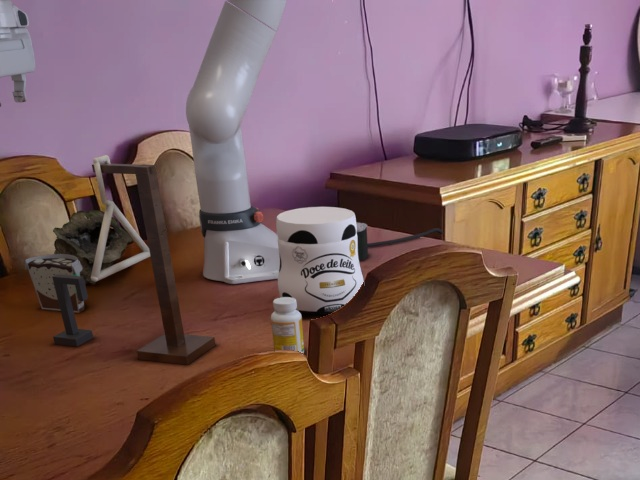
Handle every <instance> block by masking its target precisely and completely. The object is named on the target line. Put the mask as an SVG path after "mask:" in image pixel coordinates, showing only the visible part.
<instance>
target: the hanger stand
mask: <svg viewBox="0 0 640 480" xmlns="http://www.w3.org/2000/svg"><path fill="white" fill-rule="evenodd" d="M92 162H93V164H91V168H92V172H93V173H95V177H96V181H97V186H98V191H99V196H100V200H101V201H100V202H101V203H102V204H103V205H105V210H104V212H105V213H104V218H103V223H102V227H101V232H100V237H99V241H98V246H97V251H96V255H95V260H94V265H93V269H92V274H91V280H92V281H94V282H96V281H97V282H98V281H101V280H103V279H106V278H107V277H109V276H112V275H114V274H116V273H118V272H120V271H122V270H124V269H127V268H128V267H132V266H133V265H135V264H137V263H140V262H141V261H144V260H146V259H148V258H150V261H151V266H152V272H153V277H154V282H155V288H156V293H157V299H158V305H159V310H160V316H161V321H162V326H163V332H164V334H162V335H160V336H159V337H157V338H155V339H154V340H152V341H150V342H149V343H147V344H146V345H144V346H142V347H141V348H139V349H137V350H136V355H137V359H138V360H141V361H148V362H149V361H150V362H158V363H168V364H175V365H183V366H185V365H186V366H188V365H189V364H192V363H193V362H194V361H196V360H197V359H198V358H200V357H201V356H203V355H204V354H206V353H207V352H208V351H210V350H212V349H213V348H214V347H216V346H217V345H216V338H215V336H207V335H197V334H188V333H184V332H185V331H184V326H183V320H182V314H181V308H180V303H179V297H178V292H177V291H178V290H177V285H176V279H175V273H174V268H173V263H172V256H171V251H170V245H169V238H168V233H167V227H166V221H165V215H164V209H163V203H162V196H161V192H160V186H159V180H158V173H157V167H156V164H143V163H142V164H135V163H134V164H133V163H132V164H131V163H111V158H110V156H109V155H108V154H104V155H100V156H97V157H94V158H93V159H92ZM103 174H115V175H116V174H117V175H118V174H119V175H134V176H135V180H136V185H137V191H138V196H139V201H140V206H141V213H142V217H143V223H144V228H145V229H144V230H145V234H146V239H147V244H146V243H145V241H144V240H143V239H142V237H141V236H140V234H139V233H138V232H137V231H136V229H135V228H134V227H133V226H132V224H131V223H130V222H129V220H128V219H127V217H126V216H125V215H124V214H123V213H122V212H121V210H120V209H119V207H118V205H116V204H115V202H114V201H113V200H109V199H107V194H106V188H105V183H104V178H103ZM113 215H114V218H115V219H116V220H117V221H118V222H119V223H120V225H121V226H122V228H124V230H125V231H127V232H128V233H129V234H130V236H131V237H132V238H133V241H134V242H135V243H136V245H137V246H138V247H139V249H140V250H141V251H142V252H140V253H137V254H135V255H133V256H131V257H128V258H126V259H124V260H122V261H120V262H117V263H115V264H112V265H111V266H110V267H108V268H106V269H104V270H102V271H100V270H101V265H102V260H103V255H104V251H105V246H106V241H107V237H108V232H109V227H110V223H111V218H112V217H113ZM110 228H111V227H110ZM97 282H96V283H97Z"/></svg>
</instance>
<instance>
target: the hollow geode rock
mask: <svg viewBox="0 0 640 480" xmlns="http://www.w3.org/2000/svg"><path fill="white" fill-rule="evenodd" d="M104 213H105V211H103V210H101V209H100V210H97V209H96V210H95V209H93V210H92V209H91V210H88V211H85V210H84V211H83V210H78V211H76V212H73V213H72V215H71V216H70V218H69V221H68V222H66V223H64V224H63V225H62V227H56V226H55V227H54V228H53V229H52V232H53V233H54V234H55V236H56V238H55V240H54V243H53V246H54V253H53V254H67V255H73V256H75V257H77V259H78V260H79V261H80V264H81V266H82V271H81V272H80V276H83V277H84V281H85V285H86V286H88V285H92V286H93V285H96V284H97V282H98V281H96V282H94V281H92V280H91V274H92V269H93V265H94V260H95V255H96V251H97V246H98V241H99V237H100V232H101V227H102V223H103V218H104ZM133 241H134V240H133V238H132V237H131V236H130V234H129V233H128V232H127V231H126V229H123V227H121V226H119V223H118V219H117V218H116V217H113V216H112V218H111V223H110V227H109V232H108V237H107V241H106V246H105V251H104V255H103V260H102V265H101V270H100V271H102V270H104V269H106V268H108V267H111V266H113V265H114V263H115V261H117V260H120V259H121V257H122V256H123V255H124V254H125V251H126V248H127V246H128V243H130V244H131V243H132V242H133Z"/></svg>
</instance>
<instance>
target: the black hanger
mask: <svg viewBox="0 0 640 480" xmlns="http://www.w3.org/2000/svg"><path fill="white" fill-rule="evenodd" d="M52 278H53V282H54V286H55V290H56V294H57V299H58V303H59V307H60V311H59V312H60V315H61V318H62V319H61V320H62V323H63V327H64V330H63V331H61V332H59V333H57V334H55V335H53V336H52V338H53V343H54V345H57V346H67V347H68V346H69V347H76V348H78V347H80V346H81V345H84V344H85V343H87V342H88V341H90V340H92V339H94V334H93V333H94V332H93V330H92V329H85V328H84V329H83V328H79V327H78V324H77V320H76V315H75V312H74V311H73V307H72V303H71V299H70V294H69V290H68V286H67V284H69V285H75V287H76V291H77V295H78V300H79V301H84V302H85V301H86V300H88V299H89V295H88V291H87V290H88V289H87V285H85V281H84V277H83V276H72V275H60V274H57V275H55V276H52Z"/></svg>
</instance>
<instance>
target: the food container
mask: <svg viewBox="0 0 640 480" xmlns="http://www.w3.org/2000/svg"><path fill="white" fill-rule="evenodd" d="M24 261H25V262H24V267H25V271H28V273H29V276H30V278H31V281H32V284H33V287H34V290H35V294H36V297H37V299H38V303H39V304H40V307H41V308H40V309H41V310H48V311H58V312H61V311H60V307H59V303H58V299H57V294H56V290H55V286H54V282H53V278H52V276H55V275H57V274H60V275H72V276H80V272H81V271H82V266H81V264H80V261H79V260H78V259H77V257H75V256H73V255H67V254H54V253H53V254H43V255H37V256H32V257H28V258H26V259H25V260H24ZM67 286H68V290H69V294H70V299H71V303H72V307H73V311H74V313H76V314H77V313H78V314H79V313H82V312H83V311H84V310H85V300H84V301H79V300H78V295H77V291H76V287H75V285H69V284H67Z"/></svg>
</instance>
